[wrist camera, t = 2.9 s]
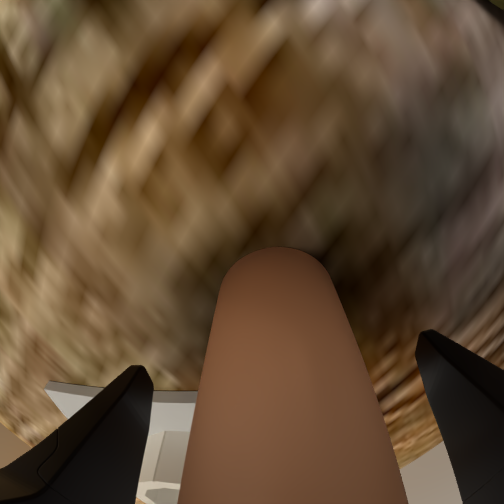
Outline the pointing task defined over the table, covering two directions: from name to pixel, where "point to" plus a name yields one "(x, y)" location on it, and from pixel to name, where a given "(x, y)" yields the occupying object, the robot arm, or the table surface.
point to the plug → (286, 396)
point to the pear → (498, 3)
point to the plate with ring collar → (159, 437)
